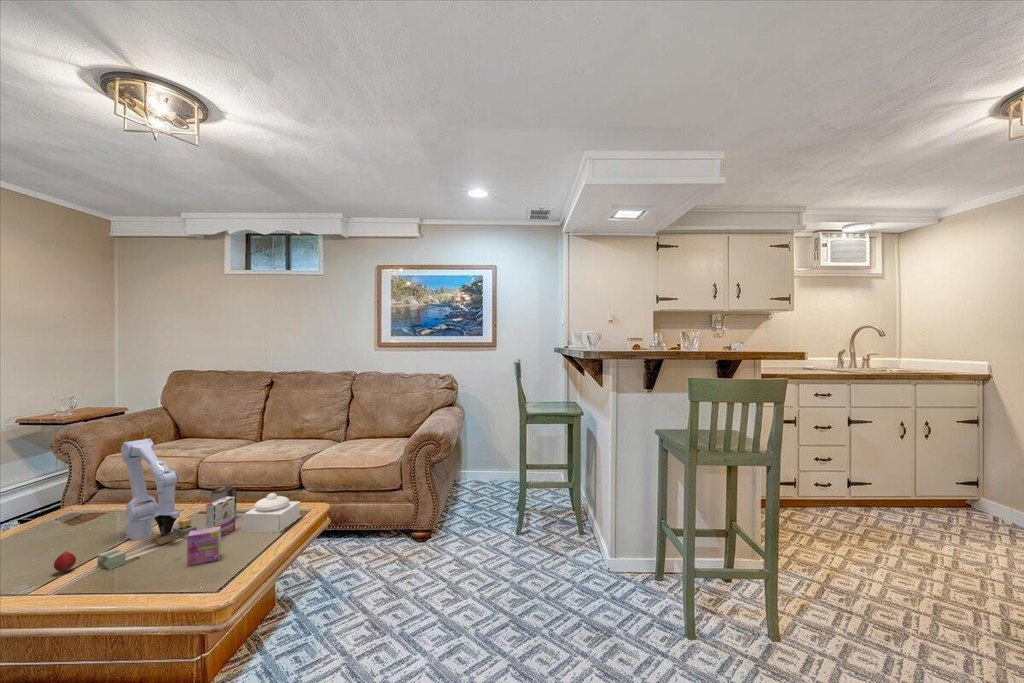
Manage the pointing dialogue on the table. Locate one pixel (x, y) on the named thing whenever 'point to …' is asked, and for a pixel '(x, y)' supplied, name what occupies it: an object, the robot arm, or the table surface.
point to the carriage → (163, 537)
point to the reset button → (184, 523)
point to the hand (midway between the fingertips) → (165, 532)
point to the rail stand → (120, 558)
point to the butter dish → (271, 513)
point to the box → (203, 545)
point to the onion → (64, 562)
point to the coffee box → (224, 494)
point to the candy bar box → (221, 515)
